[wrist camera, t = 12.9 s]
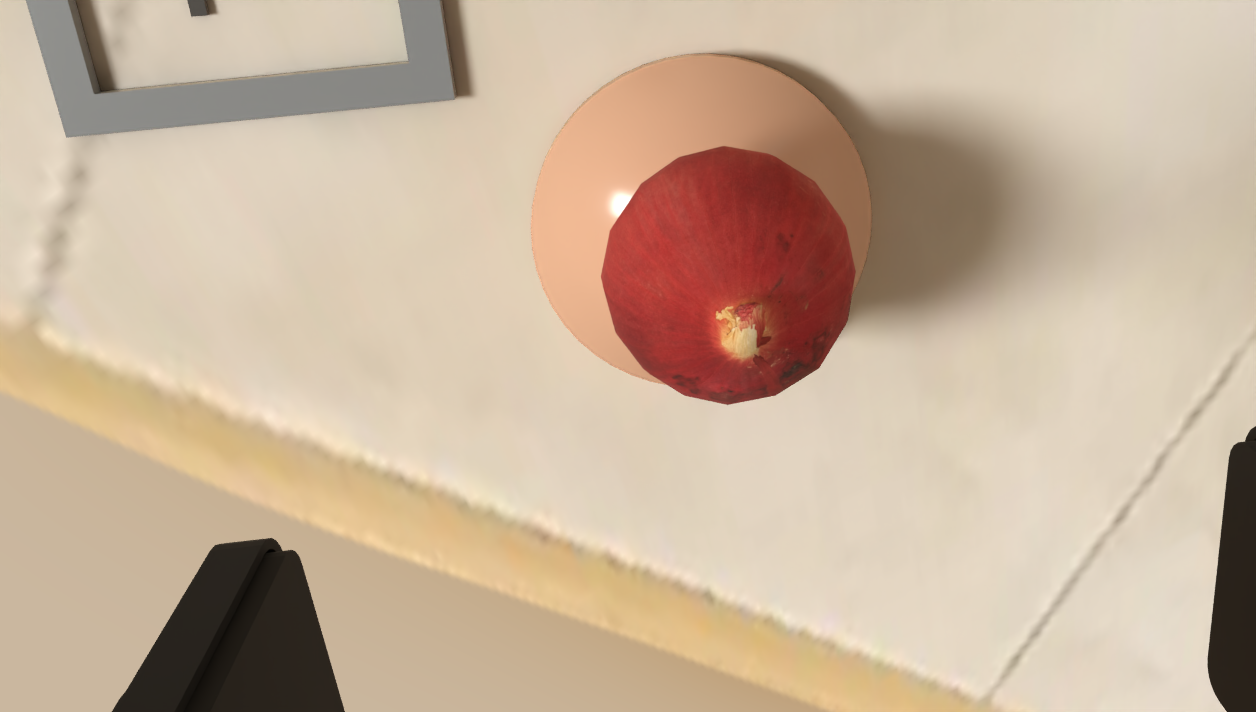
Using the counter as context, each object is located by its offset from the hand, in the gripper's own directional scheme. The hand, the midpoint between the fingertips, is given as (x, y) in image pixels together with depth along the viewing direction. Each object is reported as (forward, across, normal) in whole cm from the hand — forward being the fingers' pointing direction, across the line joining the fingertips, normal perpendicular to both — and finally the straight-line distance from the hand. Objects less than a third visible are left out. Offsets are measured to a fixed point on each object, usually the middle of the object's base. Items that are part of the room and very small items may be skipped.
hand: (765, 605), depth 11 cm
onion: (+19, -1, +2) cm, 19 cm away
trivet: (+20, 0, +2) cm, 20 cm away
